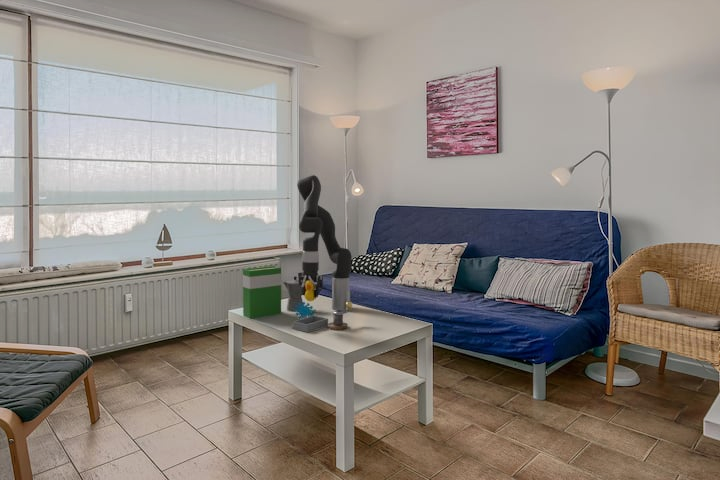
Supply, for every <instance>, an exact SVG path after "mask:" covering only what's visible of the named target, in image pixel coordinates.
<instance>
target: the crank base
mask: <svg viewBox="0 0 720 480" xmlns="http://www.w3.org/2000/svg"><path fill="white" fill-rule="evenodd" d="M348 325H349V324H348V323H347V322H344V314H343V315H341V316H335V315H333V320H332V321H331V322H330V323H329V322H328V326H327V327H328V329H329V330H332V331H344V330H348Z"/></svg>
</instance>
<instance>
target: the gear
mask: <svg viewBox="0 0 720 480" xmlns="http://www.w3.org/2000/svg"><path fill="white" fill-rule="evenodd" d="M302 304H303V305H302V306H301V303H298V305H299V306H300V308H299V307H298V305H296V306H295V308H297V309H298V310H297V309H295V315H296V316H297V317H298V316H299V317H298V318H299V319H303V318H307V317H310V316H315V315H314V314H315V313H316V312H317V309H315V308H314V307H313V305H310V303H309V302H307V303H306V302H305V301H303V303H302Z"/></svg>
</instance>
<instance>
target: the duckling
mask: <svg viewBox="0 0 720 480" xmlns="http://www.w3.org/2000/svg"><path fill="white" fill-rule="evenodd" d="M314 283H315V282H314ZM305 288H306V290H307V291H306V293H305V296H304V298H305V299H306V301H308V302H313V301H314V300H316V299H317V297H316V298H315V297H314V286H313V284H312V282H311V281H310V280H308V281H307V282H306V284H305Z"/></svg>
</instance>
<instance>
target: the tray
mask: <svg viewBox="0 0 720 480" xmlns="http://www.w3.org/2000/svg"><path fill="white" fill-rule="evenodd" d="M328 324H329V318H327V317H322V316H318V315H313V316H310V317H308V316H306V318H304V317H302V318H301V319H300V318H299V319H296V320H293V321H292V329H293V330H295V331H300V332H304V333H310V332H312V331H317V330H320V329H324V328H326V327H328Z"/></svg>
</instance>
